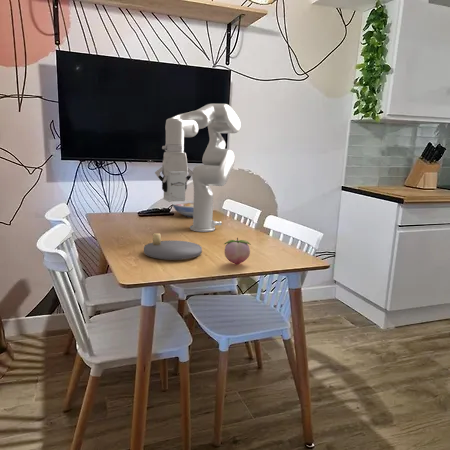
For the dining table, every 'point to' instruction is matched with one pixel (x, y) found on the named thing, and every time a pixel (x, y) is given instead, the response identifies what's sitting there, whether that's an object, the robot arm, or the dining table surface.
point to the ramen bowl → (184, 207)
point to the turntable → (171, 249)
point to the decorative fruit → (237, 251)
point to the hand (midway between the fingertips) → (174, 191)
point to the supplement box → (175, 186)
